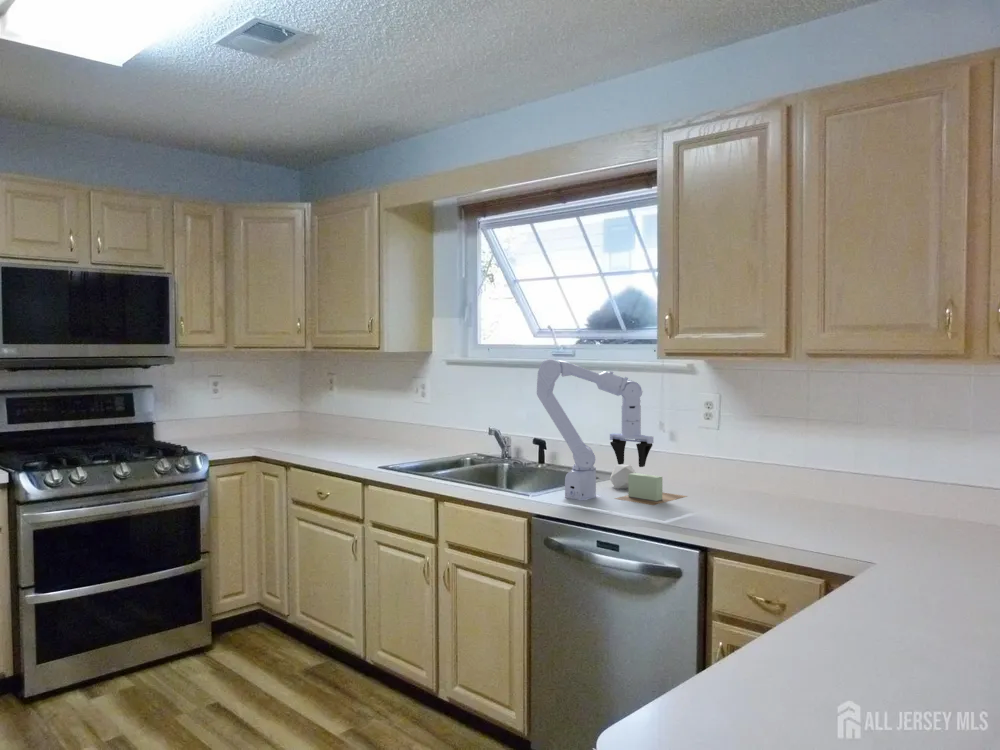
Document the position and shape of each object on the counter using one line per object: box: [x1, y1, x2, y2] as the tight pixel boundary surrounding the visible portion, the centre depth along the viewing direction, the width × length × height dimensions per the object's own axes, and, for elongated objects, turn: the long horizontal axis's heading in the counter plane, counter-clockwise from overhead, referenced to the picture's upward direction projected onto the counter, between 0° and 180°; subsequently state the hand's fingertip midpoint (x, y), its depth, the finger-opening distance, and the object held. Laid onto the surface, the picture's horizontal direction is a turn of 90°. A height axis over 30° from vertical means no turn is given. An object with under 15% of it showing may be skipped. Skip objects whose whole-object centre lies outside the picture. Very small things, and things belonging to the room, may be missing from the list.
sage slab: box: [627, 472, 663, 502], centre depth 229 cm, size 3×10×7 cm, turn 44°
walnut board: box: [614, 491, 688, 506], centre depth 231 cm, size 18×14×1 cm
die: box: [609, 464, 637, 490], centre depth 248 cm, size 8×9×10 cm
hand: (631, 465), depth 233 cm, fingers open, 7 cm apart
